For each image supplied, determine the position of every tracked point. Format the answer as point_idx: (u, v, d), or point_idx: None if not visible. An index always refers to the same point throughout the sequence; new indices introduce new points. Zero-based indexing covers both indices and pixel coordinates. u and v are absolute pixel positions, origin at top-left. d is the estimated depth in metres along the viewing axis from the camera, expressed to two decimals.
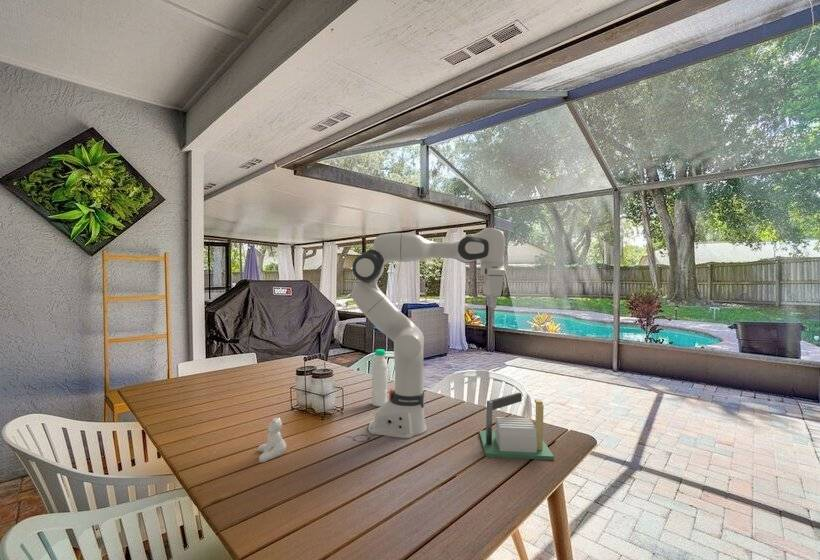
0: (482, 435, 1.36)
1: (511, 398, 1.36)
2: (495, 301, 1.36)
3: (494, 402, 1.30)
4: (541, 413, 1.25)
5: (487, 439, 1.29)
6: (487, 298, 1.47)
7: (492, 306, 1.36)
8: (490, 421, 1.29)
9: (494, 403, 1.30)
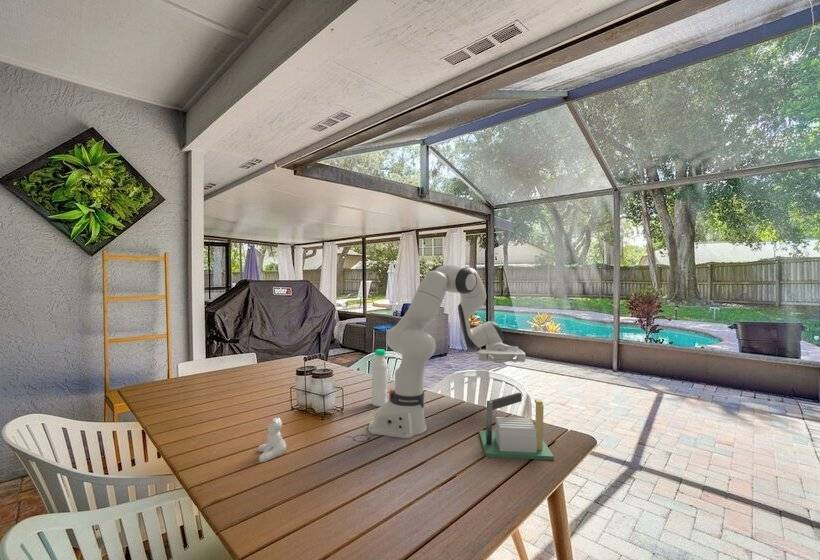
0: (482, 435, 1.36)
1: (511, 398, 1.36)
2: None
3: (494, 402, 1.30)
4: (541, 413, 1.25)
5: (487, 439, 1.29)
6: None
7: None
8: (490, 421, 1.29)
9: (494, 403, 1.30)
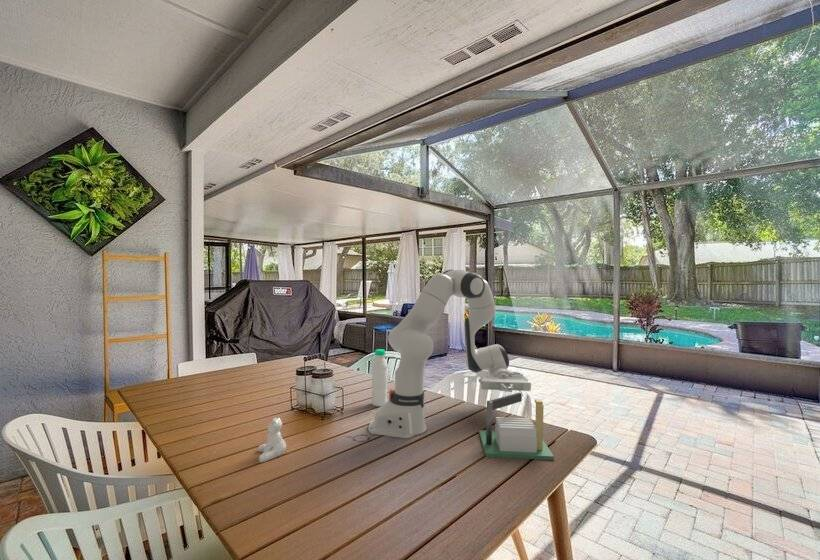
0: (482, 435, 1.36)
1: (511, 398, 1.36)
2: (512, 389, 1.49)
3: (494, 402, 1.30)
4: (541, 413, 1.25)
5: (487, 439, 1.29)
6: None
7: None
8: (490, 421, 1.29)
9: (494, 403, 1.30)
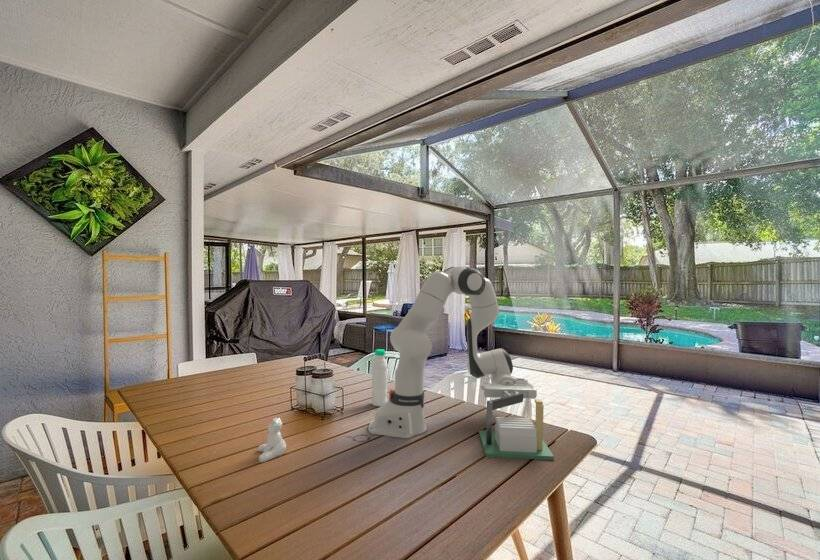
0: (482, 435, 1.36)
1: (512, 398, 1.35)
2: None
3: (494, 402, 1.30)
4: (541, 413, 1.25)
5: (487, 439, 1.29)
6: None
7: None
8: (490, 421, 1.29)
9: (494, 403, 1.30)
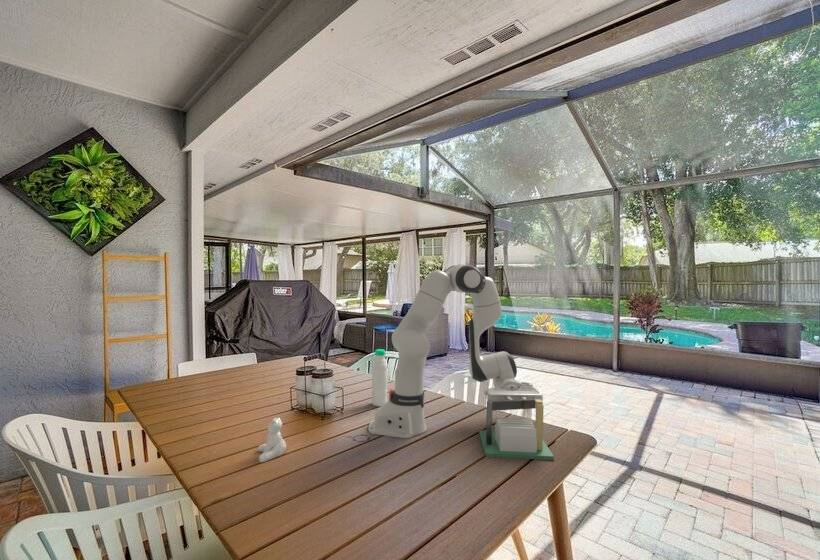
0: (482, 435, 1.36)
1: (520, 402, 1.31)
2: None
3: (495, 403, 1.29)
4: (541, 413, 1.25)
5: (486, 439, 1.29)
6: None
7: None
8: (489, 421, 1.29)
9: (495, 404, 1.29)
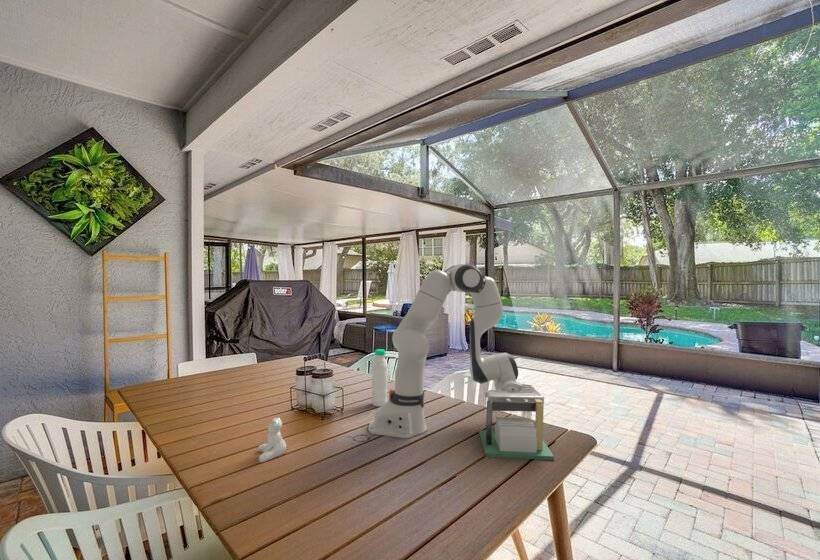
0: (482, 435, 1.36)
1: (522, 404, 1.29)
2: None
3: (495, 403, 1.29)
4: (541, 413, 1.25)
5: (486, 438, 1.29)
6: None
7: None
8: (488, 421, 1.29)
9: (495, 404, 1.29)
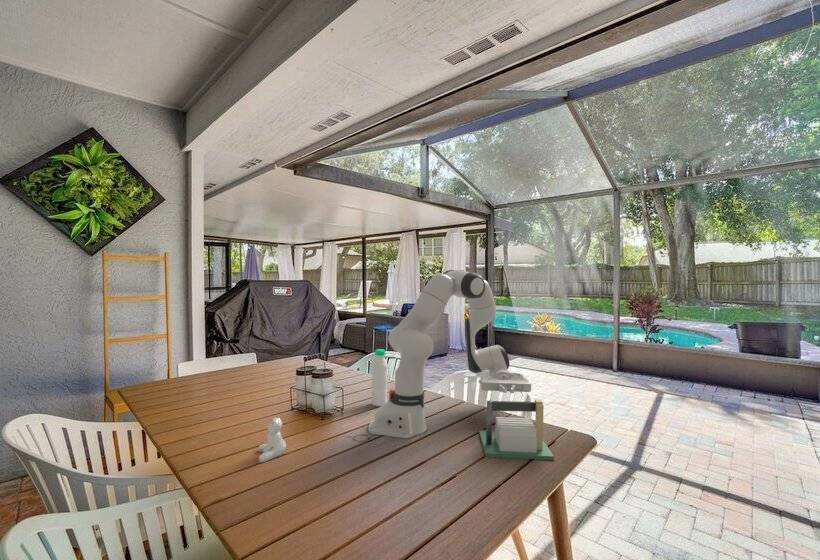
0: (482, 435, 1.36)
1: (522, 404, 1.29)
2: (514, 390, 1.48)
3: (495, 403, 1.29)
4: (541, 413, 1.25)
5: (486, 438, 1.29)
6: None
7: None
8: (488, 421, 1.29)
9: (495, 404, 1.29)
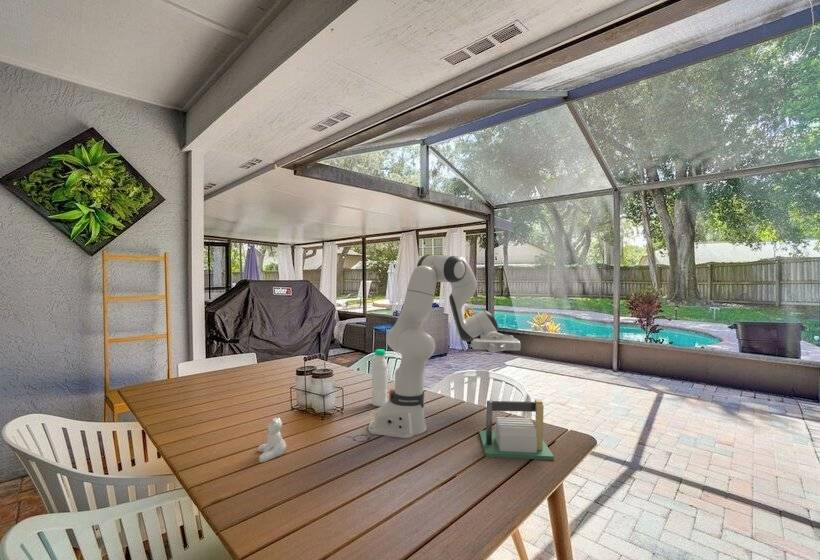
0: (482, 435, 1.36)
1: (522, 404, 1.29)
2: (504, 348, 1.55)
3: (495, 403, 1.29)
4: (541, 413, 1.25)
5: (486, 438, 1.29)
6: None
7: None
8: (488, 421, 1.29)
9: (495, 404, 1.29)
